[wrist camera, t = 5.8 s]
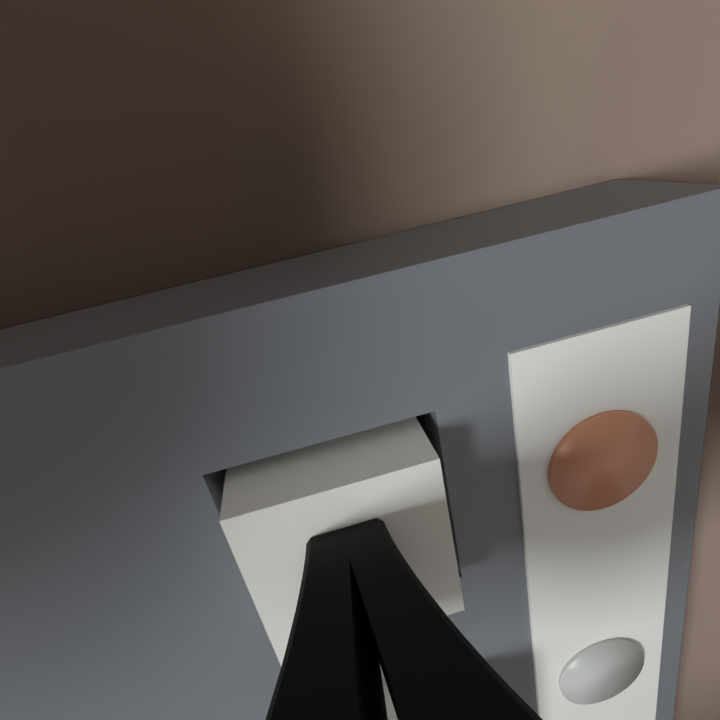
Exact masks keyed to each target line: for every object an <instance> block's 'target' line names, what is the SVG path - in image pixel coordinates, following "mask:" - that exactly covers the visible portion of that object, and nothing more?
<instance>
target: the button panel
mask: <svg viewBox="0 0 720 720" xmlns="http://www.w3.org/2000/svg"><path fill="white" fill-rule="evenodd" d="M719 305H720V185H715V184H698V183H680V182H663V181H646V180H628V179H616V180H611V181H607V182H603V183H599V184H595V185H591V186H587V187H583V188H579V189H575V190H570V191H566V192H562V193H558V194H554V195H550V196H546V197H542V198H538V199H533V200H529V201H525V202H521V203H517V204H513V205H509V206H505V207H501V208H497V209H492V210H488V211H484V212H480V213H476V214H472V215H468V216H464V217H460V218H456V219H451V220H447V221H443V222H439V223H435V224H431V225H427V226H423V227H419V228H414V229H410V230H406V231H402V232H398V233H394V234H390V235H386V236H382V237H378V238H373V239H369V240H365V241H361V242H357V243H353V244H349V245H345V246H341V247H337V248H332V249H328V250H324V251H320V252H316V253H312V254H308V255H304V256H300V257H295V258H291V259H287V260H283V261H279V262H275V263H271V264H267V265H263V266H259V267H254V268H250V269H246V270H242V271H238V272H234V273H230V274H226V275H222V276H218V277H213V278H209V279H205V280H201V281H197V282H193V283H189V284H185V285H181V286H176V287H172V288H168V289H164V290H160V291H156V292H152V293H148V294H144V295H140V296H135V297H131V298H127V299H123V300H119V301H115V302H111V303H107V304H103V305H99V306H94V307H90V308H86V309H82V310H78V311H74V312H70V313H66V314H62V315H58V316H53V317H49V318H45V319H41V320H37V321H33V322H29V323H25V324H21V325H16V326H12V327H8V328H4V329H0V720H265V719H266V716H267V713H268V709H269V706H270V703H271V700H272V696H273V693H274V690H275V686H276V683H277V680H278V676H279V673H280V670H281V665H280V663H279V660H278V658H277V656H276V653H275V651H274V649H273V646H272V644H271V642H270V639H269V637H268V635H267V632H266V630H265V628H264V625H263V623H262V620H261V618H260V616H259V613H258V611H257V609H256V606H255V604H254V602H253V599H252V597H251V595H250V592H249V590H248V588H247V585H246V583H245V581H244V578H243V576H242V574H241V571H240V569H239V567H238V564H237V562H236V560H235V557H234V555H233V553H232V550H231V548H230V546H229V543H228V541H227V538H226V536H225V534H224V531H223V529H222V527H221V524H220V522H219V519H220V512H221V504H222V497H223V489H224V482H225V474H226V469H227V468H231V467H234V466H238V465H241V464H245V463H249V462H252V461H256V460H260V459H263V458H267V457H270V456H274V455H278V454H281V453H285V452H289V451H292V450H296V449H299V448H303V447H307V446H310V445H314V444H318V443H321V442H325V441H328V440H332V439H336V438H339V437H343V436H347V435H350V434H354V433H357V432H361V431H365V430H368V429H372V428H376V427H379V426H383V425H386V424H390V423H394V422H397V421H401V420H405V419H408V418H412V417H416V418H417V420H418V422H419V423H420V425H421V427H422V429H423V430H424V432H425V434H426V436H427V437H428V439H429V441H430V443H431V444H432V446H433V448H434V450H435V451H436V453H437V455H438V457H439V458H440V463H441V470H442V476H443V482H444V488H445V494H446V500H447V506H448V512H449V518H450V524H451V530H452V536H453V542H454V548H455V554H456V560H457V566H458V572H459V578H460V584H461V590H462V597H463V603H464V609H465V610H463V611H459V612H456V613H453V614H450V615H447V616H448V617H449V619H450V620H451V621H452V622H453V623H454V625H455V626H456V627H457V628H458V629H459V631H460V632H461V633H462V634H463V635H464V636H465V638H466V639H467V640H468V641H469V642H470V643H471V644H472V646H473V647H474V648H475V649H476V650H477V651H478V652H479V654H480V655H481V656H482V657H483V658H484V659H485V660H486V661H487V662H488V664H489V665H490V666H491V667H492V668H493V669H494V670H495V671H496V672H497V673H498V674H499V675H500V677H501V678H502V679H503V680H504V681H505V682H506V683H507V684H508V685H509V686H510V687H511V688H512V689H513V690H514V691H515V692H516V693H517V694H518V695H519V696H520V697H521V698H522V699H523V700H524V701H525V702H526V703H527V704H528V705H529V706H530V707H531V708H532V709H533V710H534V711H535V712H536V713H537V714H538V715H539V716H540V717H541V718H542V719H543V720H673V715H674V706H675V697H676V688H677V679H678V670H679V661H680V652H681V643H682V634H683V625H684V617H685V608H686V599H687V590H688V581H689V572H690V563H691V554H692V545H693V536H694V527H695V519H696V510H697V501H698V492H699V483H700V474H701V465H702V456H703V447H704V438H705V430H706V421H707V412H708V403H709V394H710V385H711V376H712V367H713V358H714V349H715V340H716V332H717V323H718V314H719ZM380 668H381V665H380ZM381 675H382V680H385V678H384V675H383V671H382V668H381Z"/></svg>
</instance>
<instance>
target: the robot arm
mask: <svg viewBox="0 0 720 720" xmlns="http://www.w3.org/2000/svg"><path fill="white" fill-rule="evenodd" d="M380 665H381V668H382V671H383V675H384V678H385V681H386V684H387V687H388V690H389V694H390V697H391V700H392V703H393V706H394V709H395V712H396V716H397V719H398V720H543V719H542V718H541V717H540V716H539V715H538V714H537V713H536V712H535V711H534V710H533V709H532V708H531V707H530V706H529V705H528V704H527V703H526V702H525V701H524V700H523V699H522V698H521V697H520V696H519V695H518V694H517V693H516V692H515V691H514V690H513V689H512V688H511V687H510V686H509V685H508V684H507V683H506V682H505V681H504V680H503V679H502V678H501V677H500V675H499V674H498V673H497V672H496V671H495V670H494V669H493V668H492V667H491V666H490V665H489V664H488V662H487V661H486V660H485V659H484V658H483V657H482V656H481V655H480V654H479V652H478V651H477V650H476V649H475V648H474V647H473V646H472V644H471V643H470V642H469V641H468V640H467V639H466V638H465V636H464V635H463V634H462V633H461V632H460V631H459V629H458V628H457V627H456V626H455V625H454V623H453V622H452V621H451V620H450V619H449V617H448V616H447V615H446V614H445V612H444V611H443V610H442V609H441V607H440V606H439V605H438V604H437V602H436V601H435V600H434V598H433V597H432V596H431V595H430V593H429V592H428V591H427V589H426V588H425V587H424V586H423V584H422V583H421V581H420V580H419V579H418V577H417V576H416V575H415V573H414V572H413V570H412V569H411V567H410V566H409V564H408V563H407V561H406V560H405V558H404V557H403V556H402V554H401V552H400V551H399V549H398V548H397V546H396V544H395V542H394V541H393V539H392V537H391V535H390V533H389V532H388V530H387V528H386V525H385V523H384V521H382V520H380V519H378V518H375V519H371V520H368V521H364V522H361V523H358V524H354V525H351V526H347V527H344V528H341V529H337V530H334V531H330V532H327V533H323V534H320V535H317V536H313V537H311V538H310V539H309V541H308V542H307V544H306V554H305V562H304V569H303V575H302V581H301V586H300V591H299V596H298V601H297V606H296V611H295V615H294V619H293V623H292V627H291V631H290V635H289V639H288V643H287V647H286V651H285V655H284V659H283V663H282V666H281V670H280V673H279V676H278V680H277V683H276V686H275V690H274V693H273V696H272V700H271V703H270V706H269V709H268V713H267V716H266V719H265V720H388V717H387V710H386V703H385V696H384V689H383V682H382V675H381V668H380Z"/></svg>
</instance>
